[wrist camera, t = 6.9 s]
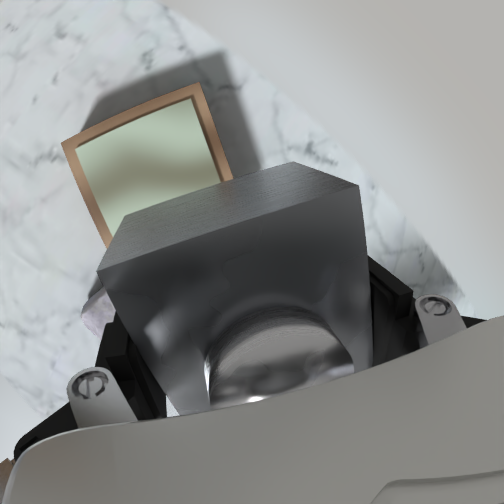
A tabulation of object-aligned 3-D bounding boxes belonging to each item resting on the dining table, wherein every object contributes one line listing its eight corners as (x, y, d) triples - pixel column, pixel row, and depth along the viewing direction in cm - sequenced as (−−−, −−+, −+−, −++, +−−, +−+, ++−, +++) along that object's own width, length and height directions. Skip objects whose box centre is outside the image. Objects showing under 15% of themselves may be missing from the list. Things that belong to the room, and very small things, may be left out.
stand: (237, 206, 29) (248, 219, 25) (124, 252, 28) (117, 273, 24) (196, 88, 24) (199, 81, 20) (76, 140, 23) (59, 143, 19)
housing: (293, 161, 11) (389, 198, 6) (326, 337, 14) (387, 427, 9) (124, 215, 10) (83, 299, 5) (201, 381, 14) (220, 489, 9)
